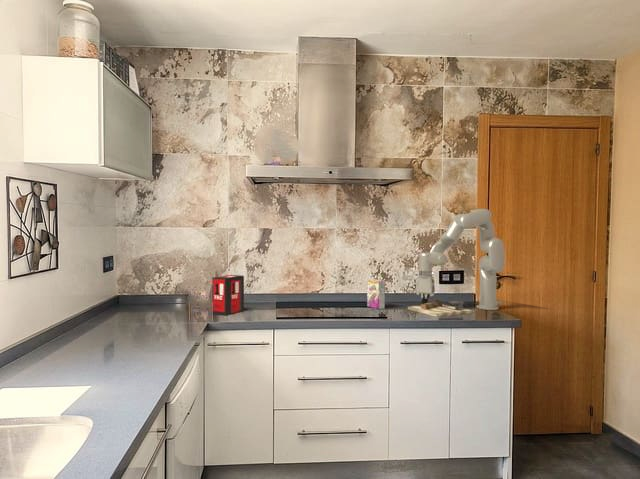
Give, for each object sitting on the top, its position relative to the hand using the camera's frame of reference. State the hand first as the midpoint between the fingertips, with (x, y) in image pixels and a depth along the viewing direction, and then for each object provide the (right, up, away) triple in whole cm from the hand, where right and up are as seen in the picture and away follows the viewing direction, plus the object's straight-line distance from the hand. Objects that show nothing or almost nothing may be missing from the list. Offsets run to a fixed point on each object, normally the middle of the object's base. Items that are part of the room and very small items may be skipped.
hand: (424, 305), depth 288 cm
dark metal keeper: (+16, -2, -7) cm, 18 cm away
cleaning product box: (-112, -2, -16) cm, 113 cm away
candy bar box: (-28, -2, +5) cm, 29 cm away
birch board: (+8, -3, -4) cm, 9 cm away
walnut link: (+4, -1, 0) cm, 4 cm away
